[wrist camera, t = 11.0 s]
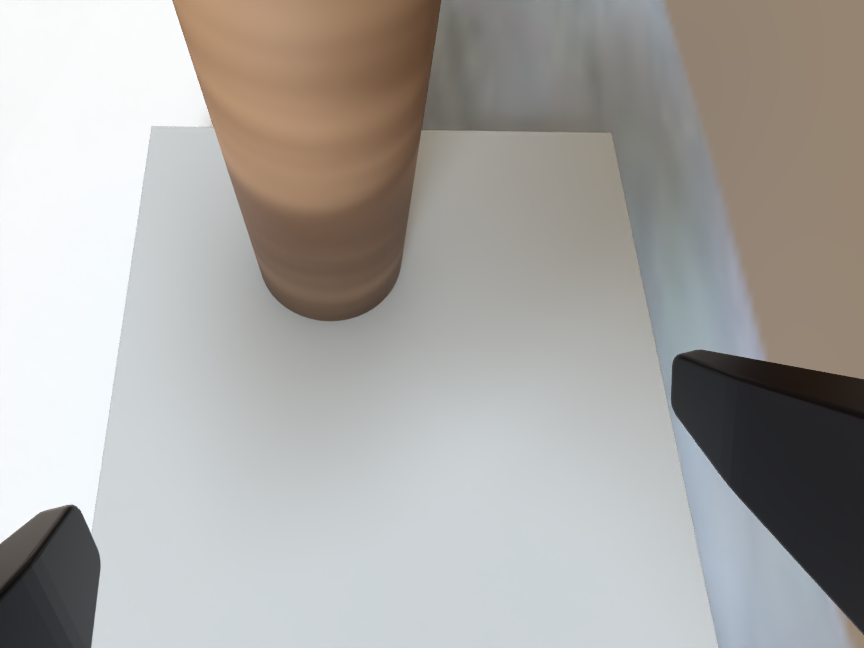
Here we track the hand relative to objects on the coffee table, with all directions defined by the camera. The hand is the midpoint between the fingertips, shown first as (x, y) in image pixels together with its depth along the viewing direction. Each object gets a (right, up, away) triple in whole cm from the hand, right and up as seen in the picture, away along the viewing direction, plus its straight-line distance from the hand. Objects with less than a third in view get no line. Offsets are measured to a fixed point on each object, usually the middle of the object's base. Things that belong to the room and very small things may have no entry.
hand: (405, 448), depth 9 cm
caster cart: (-1, -3, +12) cm, 12 cm away
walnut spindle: (-3, +4, +10) cm, 11 cm away
